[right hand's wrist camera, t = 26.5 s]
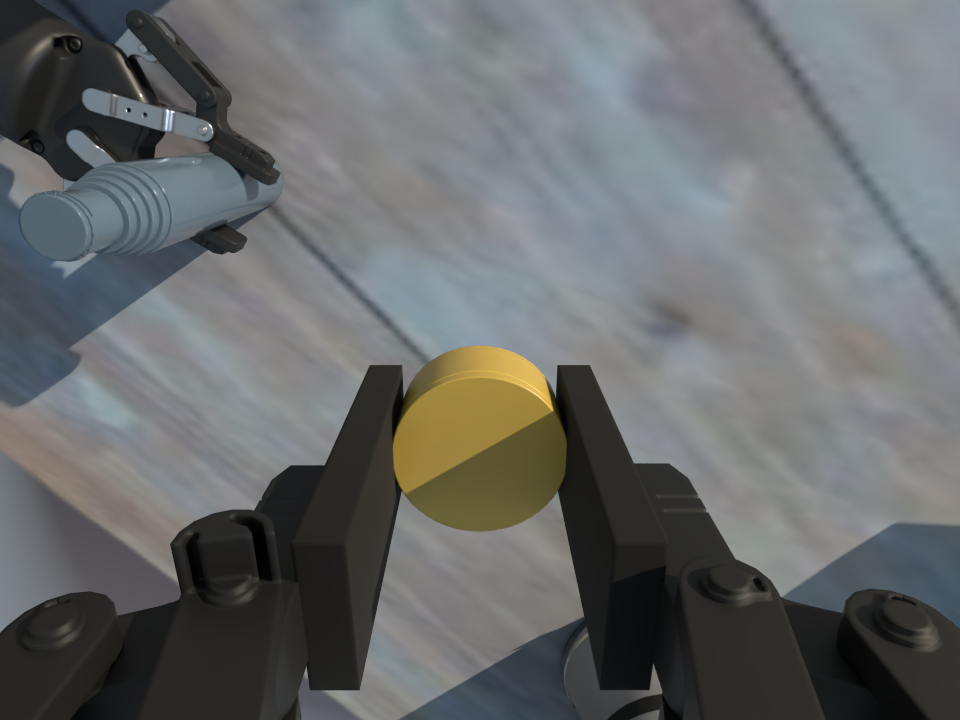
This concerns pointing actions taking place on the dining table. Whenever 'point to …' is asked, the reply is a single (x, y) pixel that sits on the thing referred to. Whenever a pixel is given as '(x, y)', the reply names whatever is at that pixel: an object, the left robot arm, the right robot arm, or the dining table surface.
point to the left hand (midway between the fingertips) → (256, 212)
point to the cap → (479, 440)
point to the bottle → (141, 206)
